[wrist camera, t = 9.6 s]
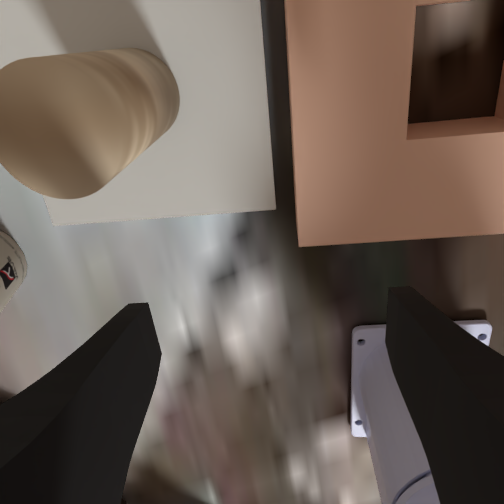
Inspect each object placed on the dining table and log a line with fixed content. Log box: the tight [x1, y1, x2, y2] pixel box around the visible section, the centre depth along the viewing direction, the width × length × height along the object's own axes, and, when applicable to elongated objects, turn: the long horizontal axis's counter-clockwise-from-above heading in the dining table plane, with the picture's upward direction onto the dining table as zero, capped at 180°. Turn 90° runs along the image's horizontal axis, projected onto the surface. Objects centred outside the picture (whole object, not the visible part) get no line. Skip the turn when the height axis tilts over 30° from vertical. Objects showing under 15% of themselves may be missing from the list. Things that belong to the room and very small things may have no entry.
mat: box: [0, 0, 276, 226], centre depth 19 cm, size 12×12×1 cm
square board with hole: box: [284, 0, 504, 247], centre depth 17 cm, size 14×14×3 cm
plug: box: [0, 48, 180, 199], centre depth 16 cm, size 4×4×8 cm
